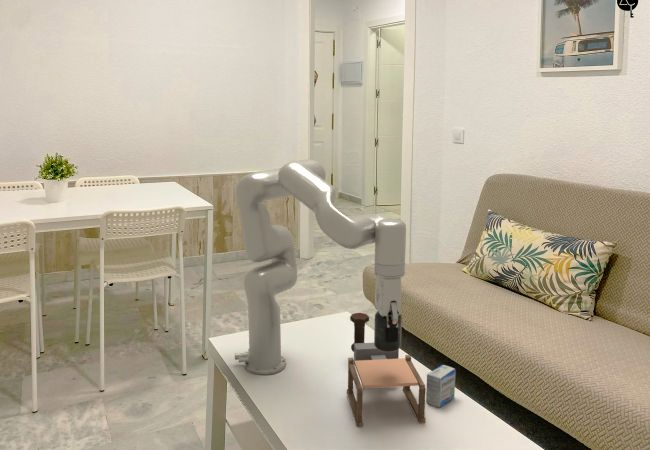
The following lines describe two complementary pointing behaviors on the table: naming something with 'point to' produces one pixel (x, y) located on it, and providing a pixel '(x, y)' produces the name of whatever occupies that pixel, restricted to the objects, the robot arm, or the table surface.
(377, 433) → the table surface
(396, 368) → the trapdoor
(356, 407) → the small wooden stool
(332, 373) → the table surface
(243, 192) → the robot arm
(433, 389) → the medicine box
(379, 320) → the supplement bottle
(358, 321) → the bolt
